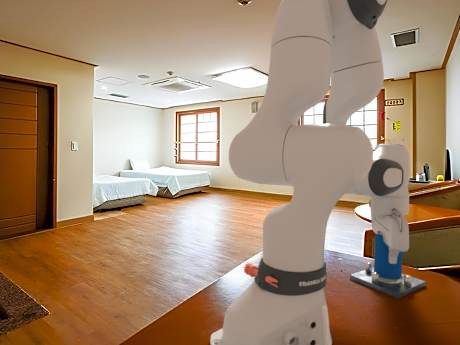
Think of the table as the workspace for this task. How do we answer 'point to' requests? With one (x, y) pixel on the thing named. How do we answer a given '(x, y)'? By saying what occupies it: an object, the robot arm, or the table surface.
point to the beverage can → (386, 261)
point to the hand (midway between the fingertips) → (387, 257)
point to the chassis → (387, 282)
